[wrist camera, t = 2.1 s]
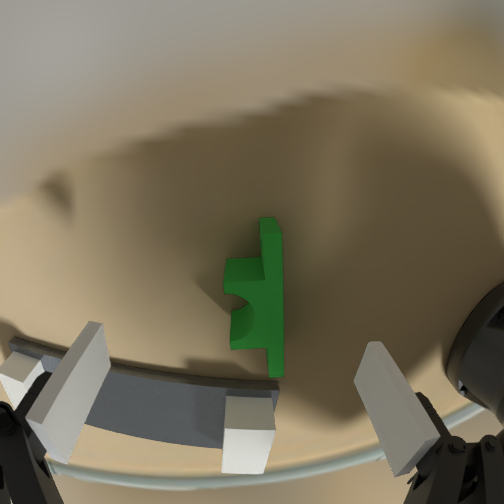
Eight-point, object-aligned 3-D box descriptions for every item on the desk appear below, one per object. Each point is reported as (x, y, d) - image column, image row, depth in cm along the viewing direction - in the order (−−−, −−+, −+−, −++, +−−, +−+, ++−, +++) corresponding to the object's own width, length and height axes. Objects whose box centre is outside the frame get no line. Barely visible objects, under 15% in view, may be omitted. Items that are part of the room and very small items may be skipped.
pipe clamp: (223, 219, 20) (218, 235, 16) (274, 216, 20) (282, 231, 16) (235, 346, 24) (234, 381, 20) (278, 343, 24) (284, 377, 20)
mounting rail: (277, 381, 25) (284, 423, 20) (263, 442, 28) (266, 478, 23) (13, 336, 23) (-11, 362, 18) (39, 400, 26) (22, 426, 21)
